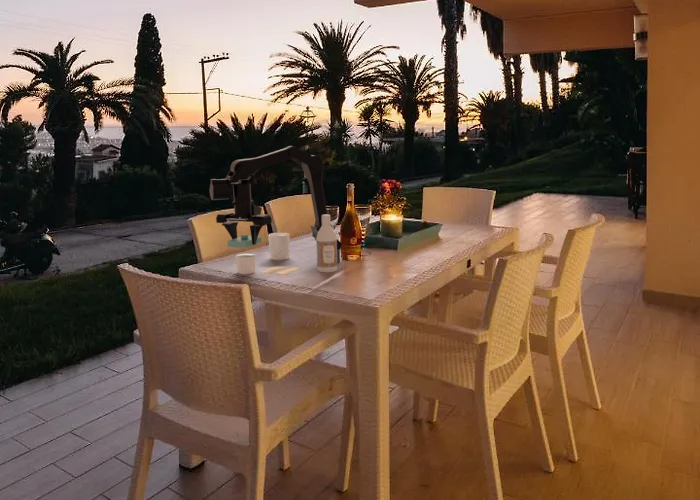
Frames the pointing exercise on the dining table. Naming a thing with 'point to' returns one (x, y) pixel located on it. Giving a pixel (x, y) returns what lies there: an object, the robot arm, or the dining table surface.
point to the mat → (280, 270)
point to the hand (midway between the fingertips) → (245, 243)
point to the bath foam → (326, 247)
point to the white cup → (279, 245)
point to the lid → (243, 241)
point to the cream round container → (245, 263)
